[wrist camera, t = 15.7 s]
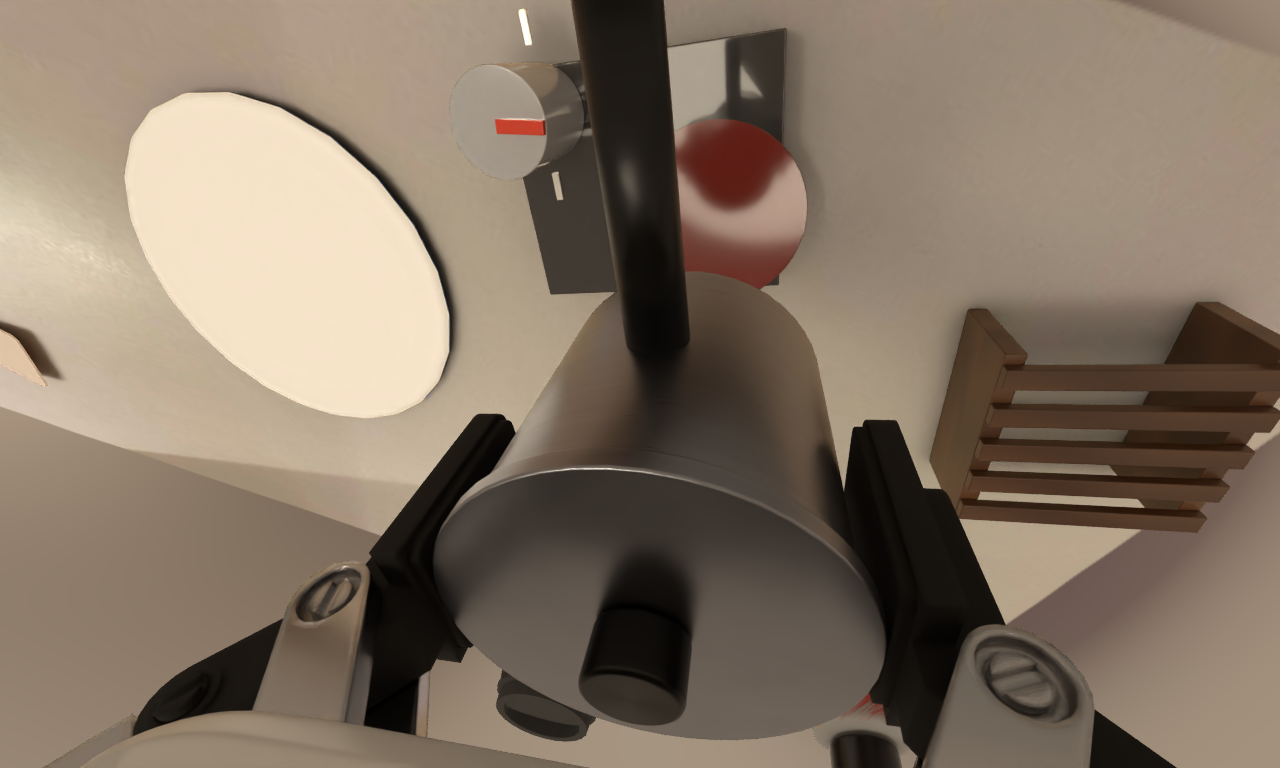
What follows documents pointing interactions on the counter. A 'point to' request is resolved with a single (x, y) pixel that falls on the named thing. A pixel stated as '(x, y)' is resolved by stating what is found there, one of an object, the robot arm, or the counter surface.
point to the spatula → (18, 359)
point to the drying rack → (1109, 425)
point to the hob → (700, 90)
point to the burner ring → (738, 201)
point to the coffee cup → (539, 712)
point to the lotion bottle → (862, 738)
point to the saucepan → (667, 475)
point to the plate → (287, 254)
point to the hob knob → (515, 117)
